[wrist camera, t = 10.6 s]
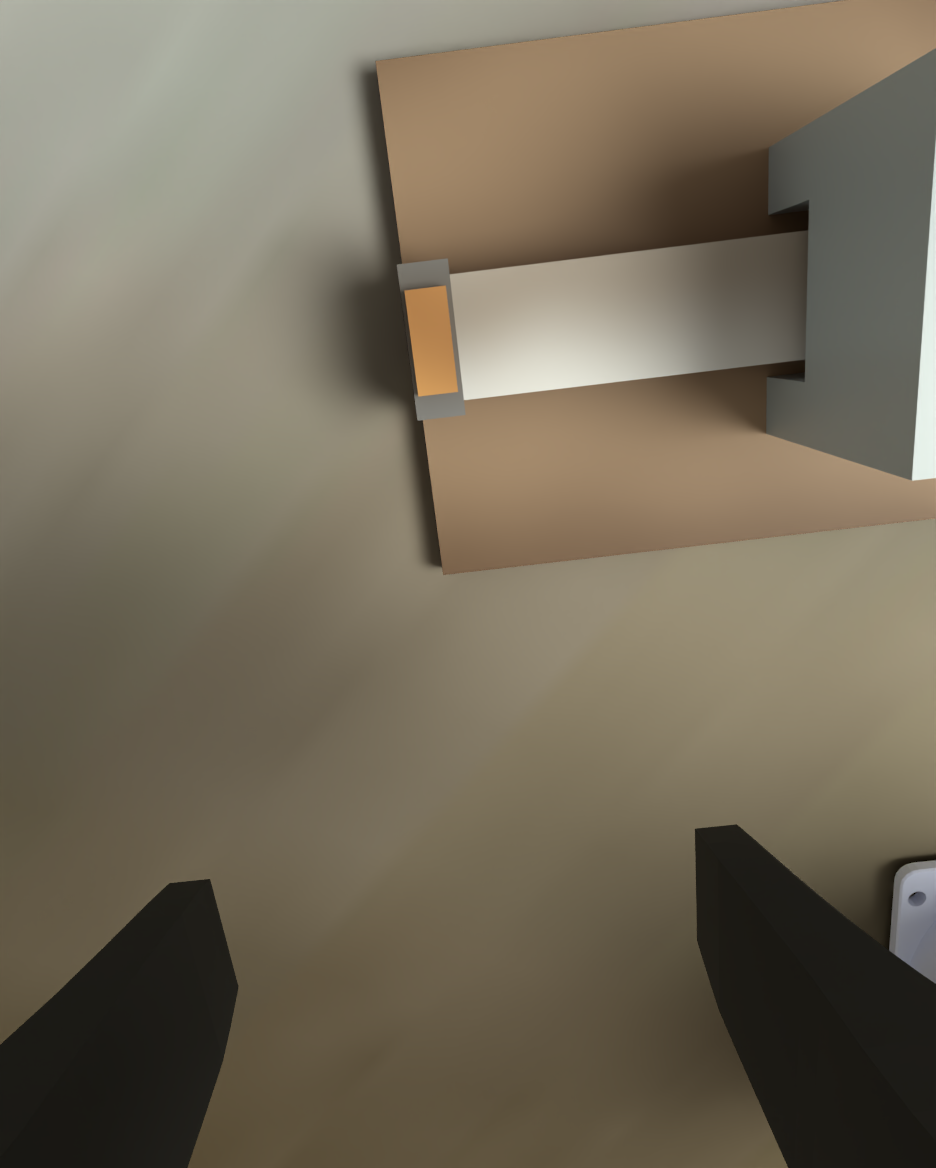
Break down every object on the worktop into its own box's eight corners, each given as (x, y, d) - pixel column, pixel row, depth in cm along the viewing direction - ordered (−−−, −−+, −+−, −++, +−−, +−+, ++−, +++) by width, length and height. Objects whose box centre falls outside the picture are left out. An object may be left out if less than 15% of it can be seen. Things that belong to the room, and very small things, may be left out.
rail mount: (1156, 486, 19) (1275, 511, 16) (443, 567, 19) (441, 606, 17) (1247, -42, 16) (1418, -123, 13) (378, 70, 16) (362, 15, 13)
